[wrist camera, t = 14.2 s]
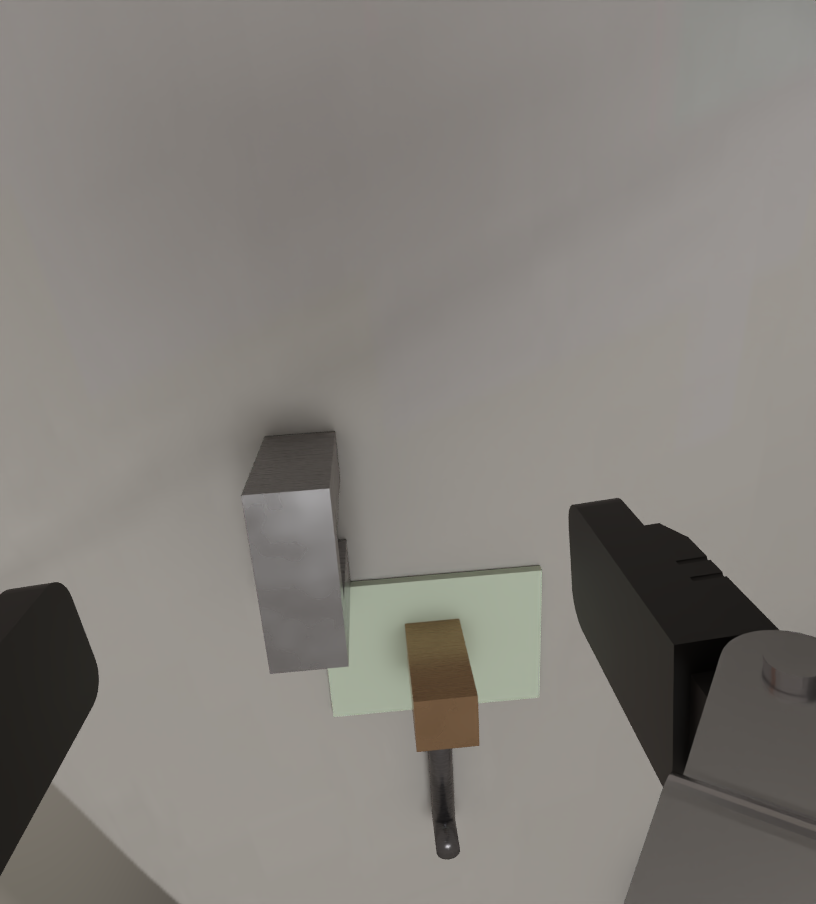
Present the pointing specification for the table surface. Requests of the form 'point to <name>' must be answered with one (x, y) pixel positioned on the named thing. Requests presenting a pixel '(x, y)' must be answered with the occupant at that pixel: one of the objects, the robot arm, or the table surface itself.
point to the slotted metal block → (299, 552)
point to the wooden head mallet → (442, 713)
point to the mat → (431, 599)
